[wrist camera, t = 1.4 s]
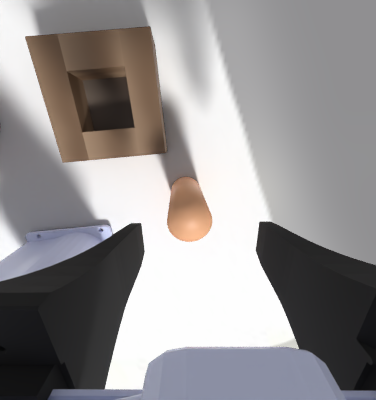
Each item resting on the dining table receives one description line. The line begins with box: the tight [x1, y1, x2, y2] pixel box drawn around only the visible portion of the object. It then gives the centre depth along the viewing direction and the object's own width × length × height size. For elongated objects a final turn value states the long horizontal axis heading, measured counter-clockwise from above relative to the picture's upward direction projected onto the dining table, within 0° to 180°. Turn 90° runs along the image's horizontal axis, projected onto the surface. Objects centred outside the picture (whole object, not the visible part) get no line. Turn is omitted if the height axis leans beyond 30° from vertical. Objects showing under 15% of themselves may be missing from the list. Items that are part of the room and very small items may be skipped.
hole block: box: [25, 27, 167, 163], centre depth 16 cm, size 9×9×3 cm
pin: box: [167, 177, 212, 242], centre depth 17 cm, size 3×3×8 cm
